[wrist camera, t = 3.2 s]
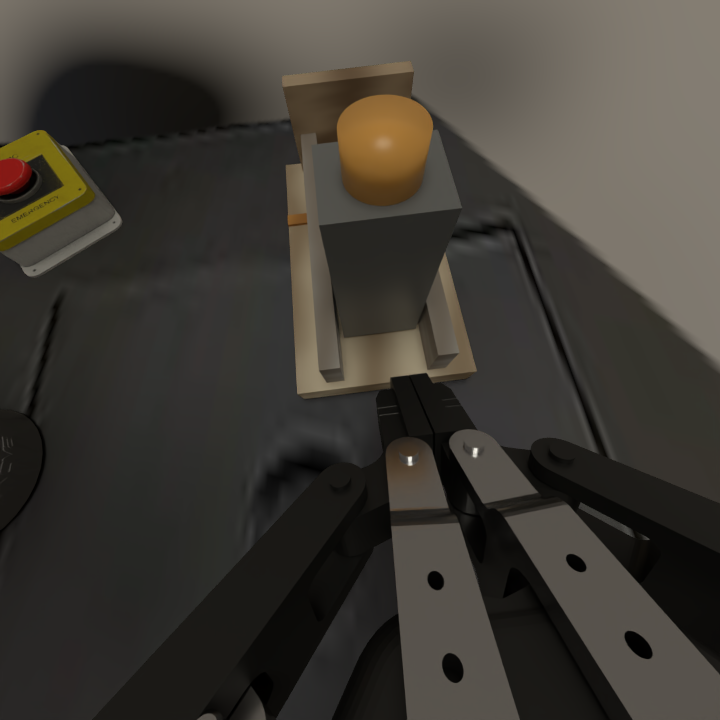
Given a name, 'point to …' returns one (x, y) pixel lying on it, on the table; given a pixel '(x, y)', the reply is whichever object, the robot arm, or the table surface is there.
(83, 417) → the table surface
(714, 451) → the table surface
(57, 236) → the emergency button
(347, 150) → the orange-capped grey pillar
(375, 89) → the track
